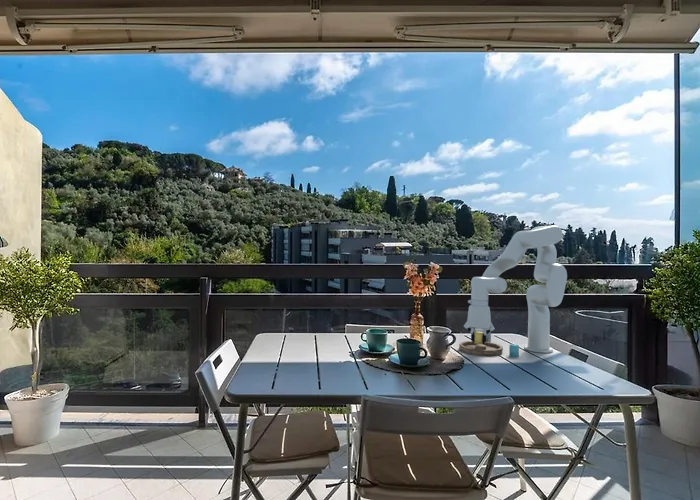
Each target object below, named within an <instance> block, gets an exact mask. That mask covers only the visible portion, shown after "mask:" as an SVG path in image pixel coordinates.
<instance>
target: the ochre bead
mask: <svg viewBox="0 0 700 500" xmlns="http://www.w3.org/2000/svg"><path fill="white" fill-rule="evenodd" d="M474 343H475V344H483V332H474Z"/></svg>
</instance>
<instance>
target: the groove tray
mask: <svg viewBox="0 0 700 500" xmlns="http://www.w3.org/2000/svg"><path fill="white" fill-rule="evenodd" d="M458 346H459V351H460V352H462V353H463V354H468V355H473V356H479V357H480V356H481V357H494V356H495V357H496V356H501V355H502V354H503V350H504V346H502V345H500V344H498V343H495V342H485V343H484V344H475V343H472V340H468V341H462V342H460V343H459V344H458Z"/></svg>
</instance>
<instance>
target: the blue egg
mask: <svg viewBox="0 0 700 500" xmlns="http://www.w3.org/2000/svg"><path fill="white" fill-rule="evenodd" d="M508 352H509V355H508V356H509V357H511V358H519V357H520V354H519V353H520V346H519V344H515V343H514V344H513V343H510V344H509V351H508Z"/></svg>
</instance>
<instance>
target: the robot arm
mask: <svg viewBox="0 0 700 500" xmlns="http://www.w3.org/2000/svg"><path fill="white" fill-rule="evenodd" d="M562 239H563V230H562V229H561V228H560V227H559V226H557V225H541V226H535V227H533V228H532V229H531V230H520V231H517V232H515V233H514V235H513V236H512V237H511V240H509V242H508V244H507V246H506V247H505V249H504V251H503V252H502V253H501V255H500V256H499V257H497V258H496V259H495V260H494V261H493V262H492V263H491V264H489V265H488V266H487V268H486V269H485V271H484V272H483V274H482V276H473V277H472V278H471V294H470V296H471V297H470V299H468V300H467V303H468V304H470V305H469V306H468V311H467V319H466V321H465V323H464V325H463V328H464V329H466V330H467V331H468V332H469V333H470V341H472V343H474V330H475V329H477V328H479V329H483V332H484V334H483V344H484V343H485V342H486V335H487V334H488V333H489V332H490V333H491V332H492V331H494V330H495V326H494V325H493V323H492V320H491V319H492V318H491V310H490V309H491V308H490V306H489V293H495V294H502V293H503V292H505V291H506V289H507V287H508V283H507V281H506V280H505V279H504V278H503V277H500V276H501V274H502V273H504V272H506V271H507V270H510V269H513V268H515V267H517V266H518V265H519V263H520V261H522V259H523V258H524V255H525V253H526V252H527V250H528V249H537V256H536V260H535V265H534V270H533V277H534V280H535V281H536V282H537V281H538V282H540V283H545V284H546V285H545V284H533V285H531V286H529V287H528V289H526V293H525V294H526V295H525V296H526V301H527V308H528V309H527V310H528V313H527V315H528V319H527V323H528V325H527V344H526V345H525V344H524V346H523V347H524V349H525V350H527V351H529V352H533V353H541V354H544V353H545V354H546V353H547V354H548V353H552V352H554V348H553V347H551V346H550V336H551V335H550V331H551V329H550V327H551V324H550V323H551V322H550V321H551V314H550V313H551V312H550V309H549V308H555V307H558V306H559V305H561V303H562V301H563V298H564V296H565V291H566V290H565V289H566V285H567V279H568V272H567V269H566V268H565V266H564V265H562V264H561V263H557V256H558V255H557V253H558V252H557V248H556V246H555V245H556V244H558V243H559V242H560V241H561V240H562ZM487 329H488V330H487Z"/></svg>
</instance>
